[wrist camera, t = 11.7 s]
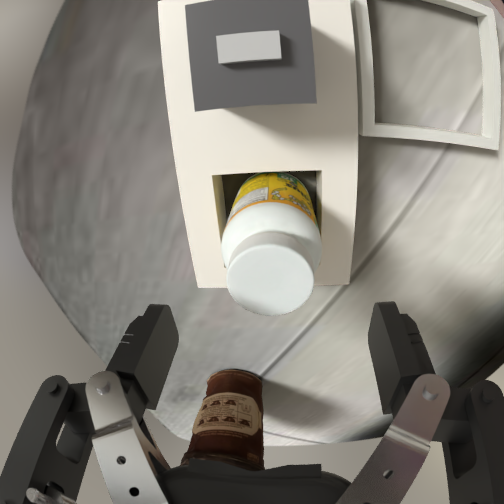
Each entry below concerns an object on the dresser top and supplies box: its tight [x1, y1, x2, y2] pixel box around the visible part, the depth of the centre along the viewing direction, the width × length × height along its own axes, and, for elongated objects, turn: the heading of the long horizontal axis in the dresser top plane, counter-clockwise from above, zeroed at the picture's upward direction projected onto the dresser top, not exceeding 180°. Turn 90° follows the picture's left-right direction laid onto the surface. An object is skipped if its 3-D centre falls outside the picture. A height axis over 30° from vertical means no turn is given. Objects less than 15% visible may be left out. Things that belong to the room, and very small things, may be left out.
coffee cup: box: [180, 370, 265, 471], centre depth 27 cm, size 9×8×13 cm
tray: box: [350, 0, 501, 150], centre depth 15 cm, size 12×12×2 cm
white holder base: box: [158, 0, 358, 288], centre depth 16 cm, size 11×20×9 cm, turn 4°
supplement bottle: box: [221, 171, 322, 316], centre depth 18 cm, size 5×5×10 cm
